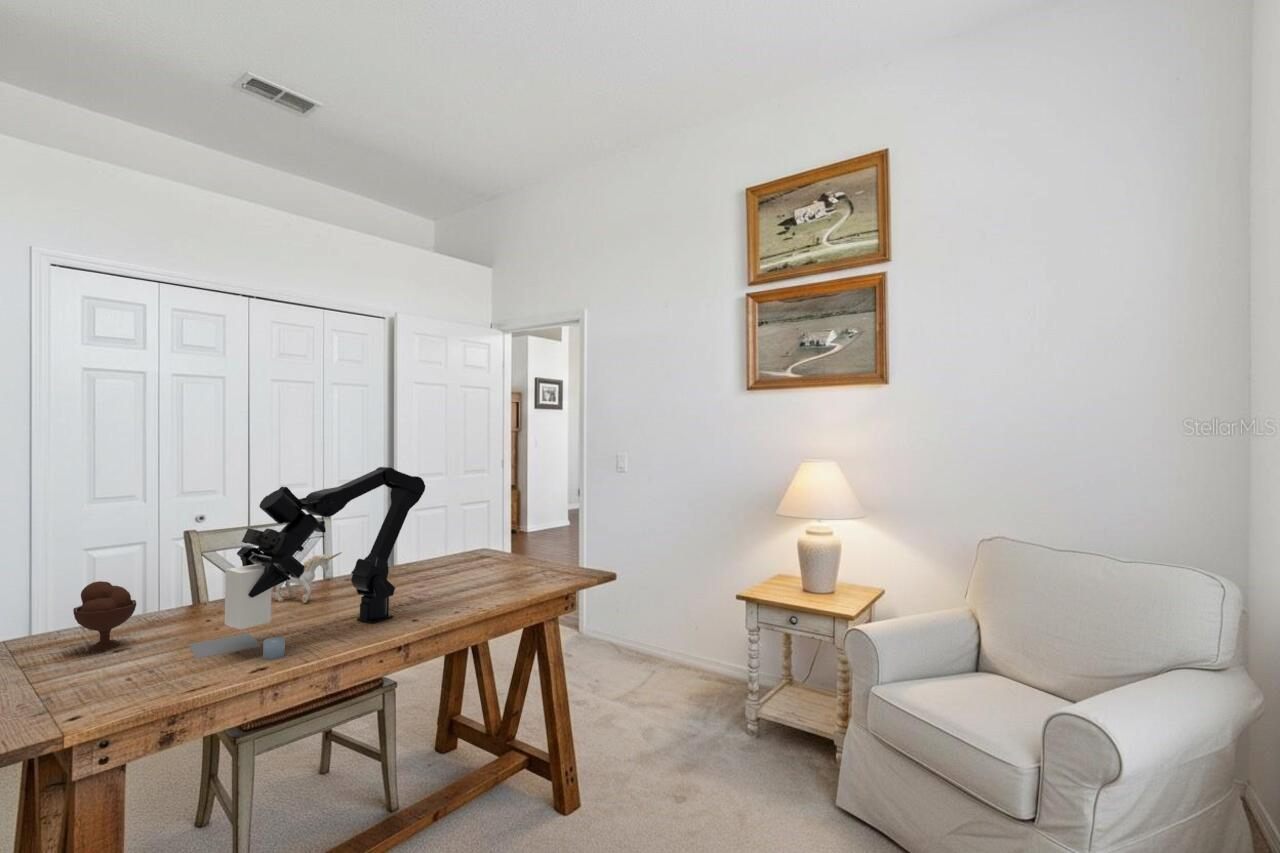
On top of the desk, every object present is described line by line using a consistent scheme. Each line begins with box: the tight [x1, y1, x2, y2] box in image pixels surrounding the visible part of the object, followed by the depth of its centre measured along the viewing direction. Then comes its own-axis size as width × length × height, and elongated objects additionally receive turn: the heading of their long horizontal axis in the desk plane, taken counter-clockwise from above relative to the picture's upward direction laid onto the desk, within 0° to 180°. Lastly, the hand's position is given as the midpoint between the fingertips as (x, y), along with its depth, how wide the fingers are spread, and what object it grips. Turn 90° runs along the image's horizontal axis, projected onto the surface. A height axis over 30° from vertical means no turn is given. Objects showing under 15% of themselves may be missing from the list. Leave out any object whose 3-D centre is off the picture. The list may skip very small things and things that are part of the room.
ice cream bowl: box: [72, 580, 138, 653], centre depth 139 cm, size 11×11×15 cm
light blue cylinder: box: [262, 636, 286, 661], centre depth 135 cm, size 4×4×4 cm
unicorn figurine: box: [271, 551, 343, 604], centre depth 179 cm, size 7×20×13 cm, turn 97°
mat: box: [187, 632, 262, 660], centre depth 141 cm, size 12×12×1 cm
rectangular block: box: [224, 564, 272, 630], centre depth 137 cm, size 6×6×12 cm
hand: (241, 594), depth 135 cm, fingers closed on rectangular block, 6 cm apart
